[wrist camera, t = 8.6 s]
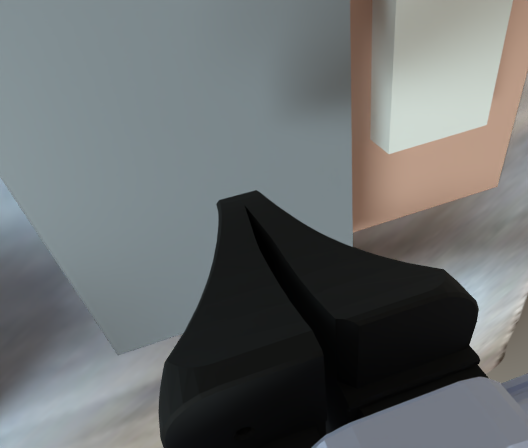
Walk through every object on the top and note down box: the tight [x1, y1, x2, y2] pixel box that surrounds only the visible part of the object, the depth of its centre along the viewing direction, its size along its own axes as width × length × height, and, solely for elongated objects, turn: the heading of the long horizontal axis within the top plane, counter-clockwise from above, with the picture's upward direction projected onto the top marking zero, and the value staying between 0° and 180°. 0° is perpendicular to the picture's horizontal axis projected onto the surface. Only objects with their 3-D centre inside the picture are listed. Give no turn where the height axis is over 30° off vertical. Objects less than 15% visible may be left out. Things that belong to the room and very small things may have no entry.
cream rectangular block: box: [370, 0, 513, 154], centre depth 19 cm, size 9×6×2 cm, turn 9°
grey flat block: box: [0, 0, 353, 355], centre depth 17 cm, size 22×14×4 cm, turn 9°
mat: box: [350, 0, 528, 232], centre depth 20 cm, size 22×12×1 cm, turn 9°
